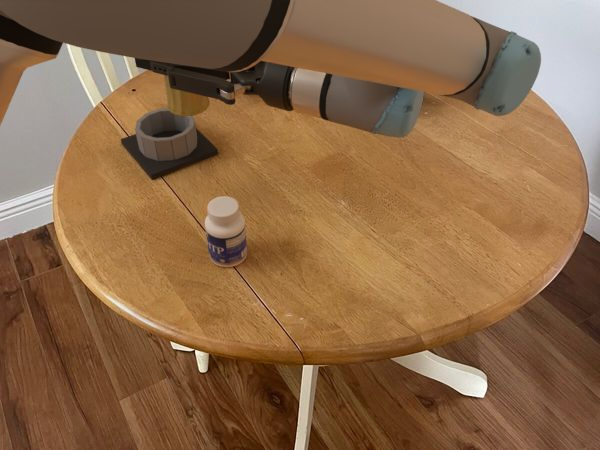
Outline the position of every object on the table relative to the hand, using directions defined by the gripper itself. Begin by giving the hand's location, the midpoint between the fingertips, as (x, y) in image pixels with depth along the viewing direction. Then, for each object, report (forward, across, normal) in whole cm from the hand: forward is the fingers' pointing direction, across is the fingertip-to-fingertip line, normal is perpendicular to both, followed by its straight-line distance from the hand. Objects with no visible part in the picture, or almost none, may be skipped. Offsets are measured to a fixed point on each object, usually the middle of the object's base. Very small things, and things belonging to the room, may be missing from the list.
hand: (149, 47), depth 82 cm
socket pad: (+2, +3, -20) cm, 20 cm away
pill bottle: (-19, -14, -20) cm, 31 cm away
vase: (-5, 0, -8) cm, 10 cm away
